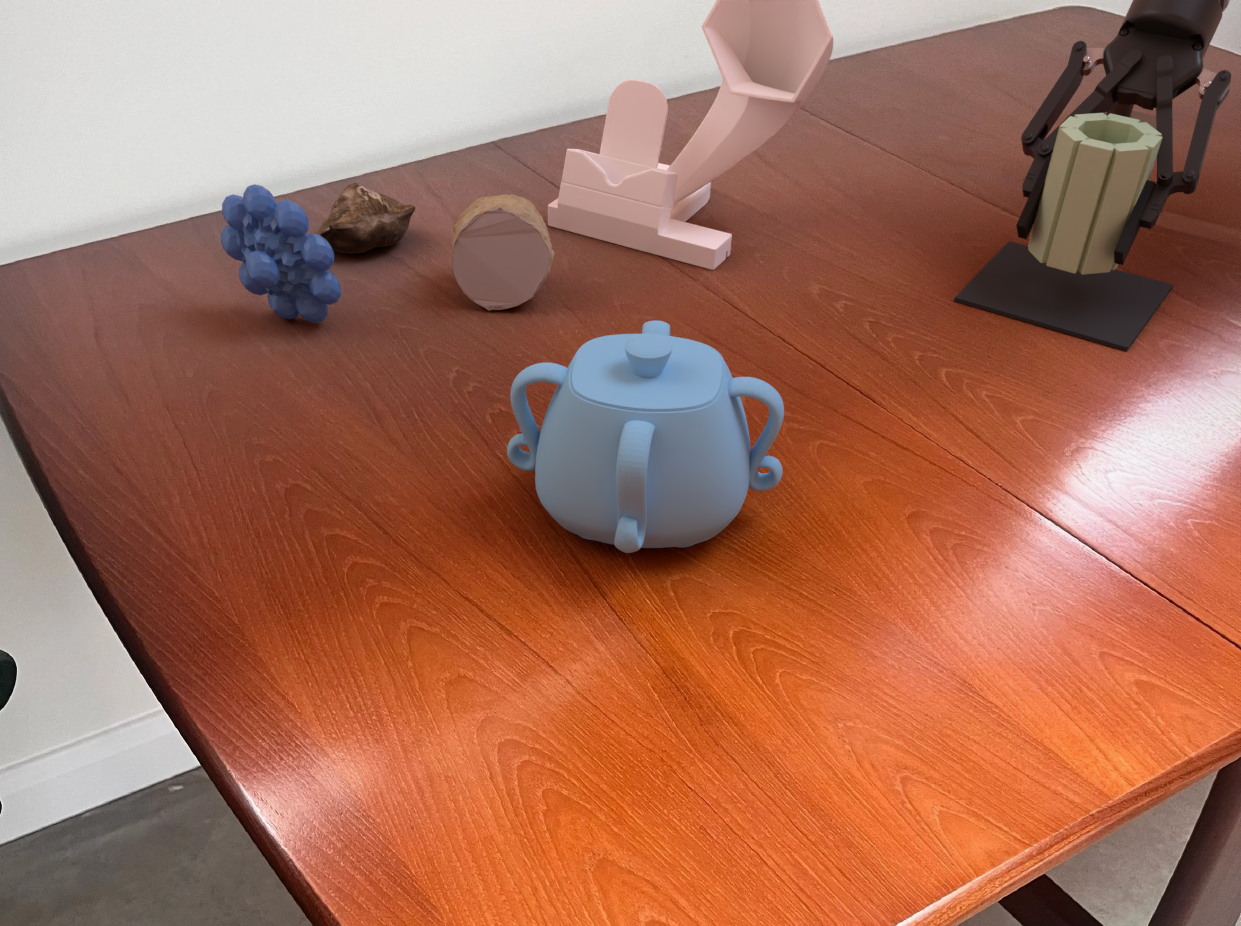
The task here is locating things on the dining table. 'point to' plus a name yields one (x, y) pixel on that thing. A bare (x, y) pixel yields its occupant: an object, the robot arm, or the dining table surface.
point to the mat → (1065, 297)
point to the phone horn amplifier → (733, 128)
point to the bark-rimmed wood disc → (501, 251)
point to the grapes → (280, 254)
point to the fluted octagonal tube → (1092, 190)
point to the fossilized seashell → (364, 221)
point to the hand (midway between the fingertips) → (1069, 244)
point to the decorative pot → (645, 440)
